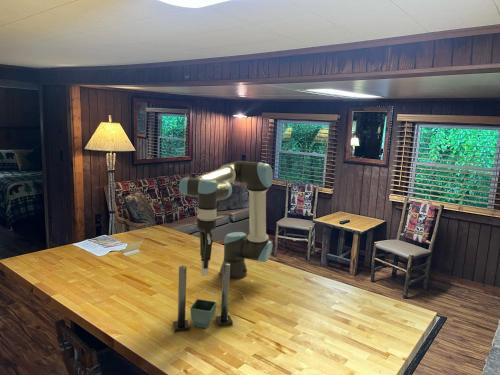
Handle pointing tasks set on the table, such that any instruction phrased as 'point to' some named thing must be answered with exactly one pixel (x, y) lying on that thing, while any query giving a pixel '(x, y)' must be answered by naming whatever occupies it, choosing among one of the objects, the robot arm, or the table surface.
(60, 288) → the table surface
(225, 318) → the post
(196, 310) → the flower pot
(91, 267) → the table surface
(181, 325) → the post
